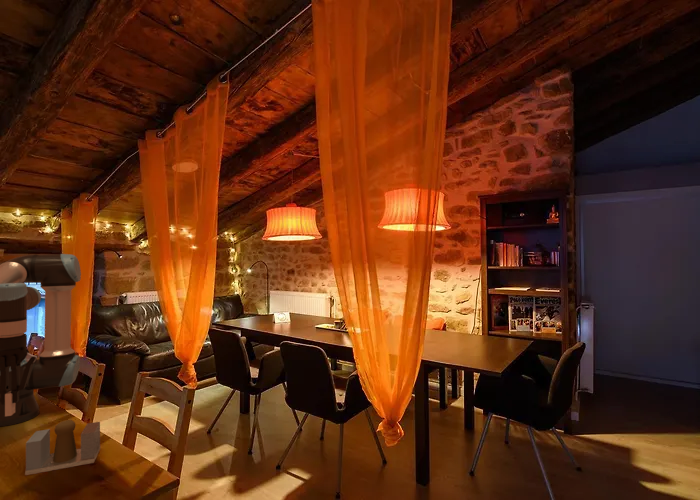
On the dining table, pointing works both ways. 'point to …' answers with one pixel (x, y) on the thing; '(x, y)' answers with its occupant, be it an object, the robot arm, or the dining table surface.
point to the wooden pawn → (64, 442)
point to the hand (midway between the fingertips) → (10, 414)
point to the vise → (84, 455)
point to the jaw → (37, 449)
